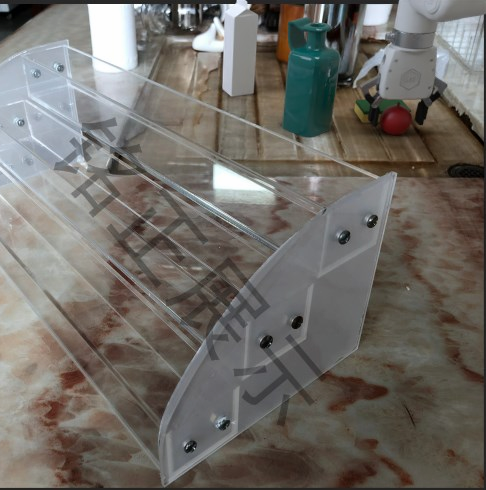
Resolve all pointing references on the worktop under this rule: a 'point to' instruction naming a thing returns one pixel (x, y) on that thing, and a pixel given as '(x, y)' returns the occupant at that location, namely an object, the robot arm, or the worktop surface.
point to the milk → (239, 49)
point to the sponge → (364, 106)
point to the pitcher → (310, 79)
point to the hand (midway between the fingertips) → (395, 123)
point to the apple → (395, 119)
